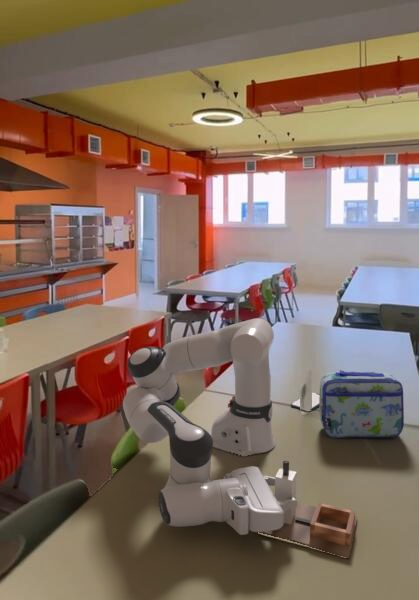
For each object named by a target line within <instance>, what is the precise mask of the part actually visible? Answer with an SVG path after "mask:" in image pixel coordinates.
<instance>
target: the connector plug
mask: <svg viewBox="0 0 419 600" xmlns="http://www.w3.org/2000/svg"><path fill="white" fill-rule="evenodd" d="M274 477H275V486H274V496H275V498H276V499H277V501H282V502H284V501H286V500H287V497H294V498H295V499H296V500H297V471H293V470H290V462H289V460H283V461H282V468H279V469H278V471H277V472H276V475H275V476H274ZM295 513H296V507H295V508H289V510H287V511H286V512H284V523H287V524H292V522H293V519H294V517H295Z"/></svg>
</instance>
